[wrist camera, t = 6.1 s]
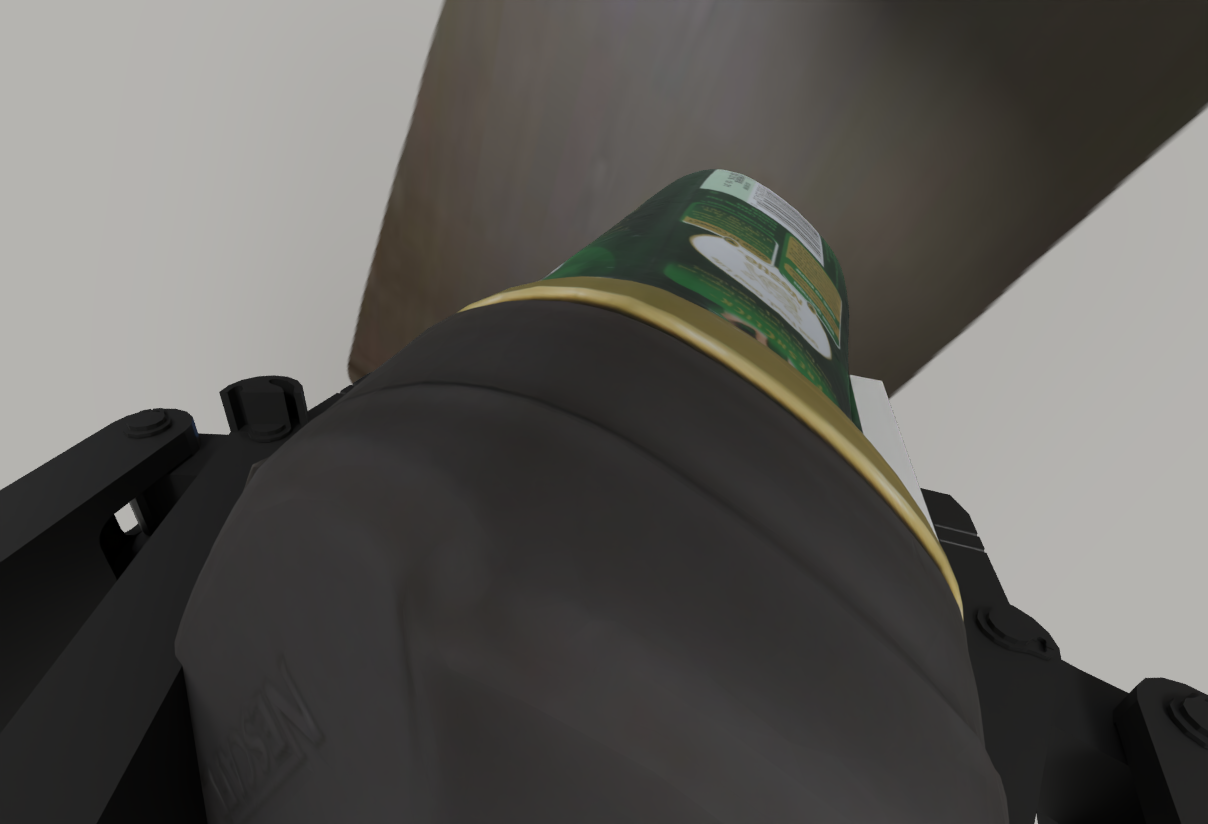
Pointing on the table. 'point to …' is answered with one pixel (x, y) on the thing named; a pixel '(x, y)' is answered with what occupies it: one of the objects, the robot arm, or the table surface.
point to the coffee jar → (595, 565)
